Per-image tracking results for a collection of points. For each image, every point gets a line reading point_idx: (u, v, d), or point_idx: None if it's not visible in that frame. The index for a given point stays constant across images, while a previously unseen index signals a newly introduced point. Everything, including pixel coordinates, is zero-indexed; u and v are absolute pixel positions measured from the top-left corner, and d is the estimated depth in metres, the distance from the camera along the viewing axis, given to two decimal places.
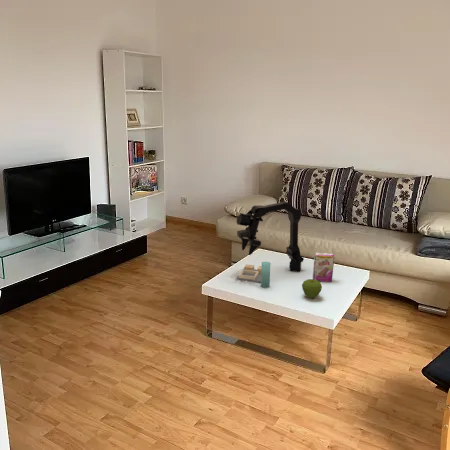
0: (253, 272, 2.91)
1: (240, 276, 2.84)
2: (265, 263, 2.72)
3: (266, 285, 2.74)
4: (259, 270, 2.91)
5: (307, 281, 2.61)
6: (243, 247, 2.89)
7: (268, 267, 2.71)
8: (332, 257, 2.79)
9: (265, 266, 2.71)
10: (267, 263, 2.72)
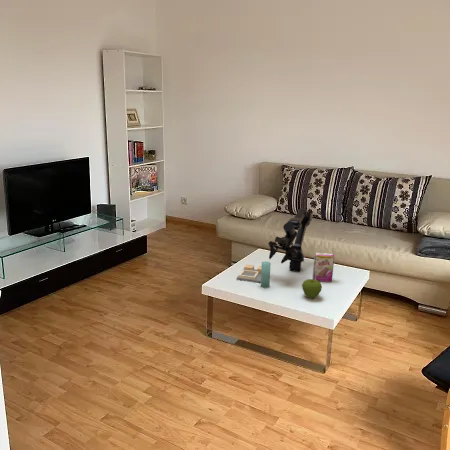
0: (253, 272, 2.91)
1: (240, 276, 2.84)
2: (265, 263, 2.72)
3: (266, 285, 2.74)
4: (259, 270, 2.91)
5: (307, 281, 2.61)
6: (271, 256, 2.82)
7: (268, 267, 2.71)
8: (332, 257, 2.79)
9: (265, 266, 2.71)
10: (267, 263, 2.72)
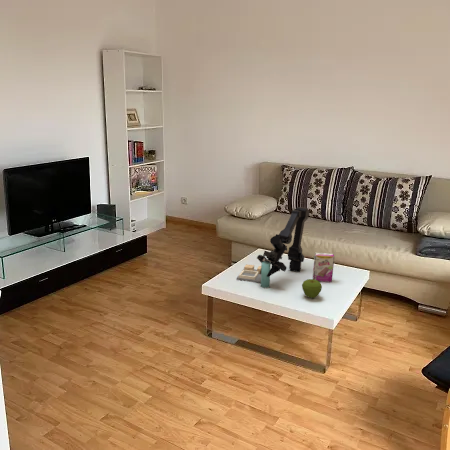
0: (253, 272, 2.91)
1: (240, 276, 2.84)
2: (265, 263, 2.72)
3: (266, 285, 2.74)
4: (259, 270, 2.91)
5: (307, 281, 2.61)
6: None
7: (268, 267, 2.71)
8: (332, 257, 2.79)
9: (265, 266, 2.71)
10: (267, 263, 2.72)
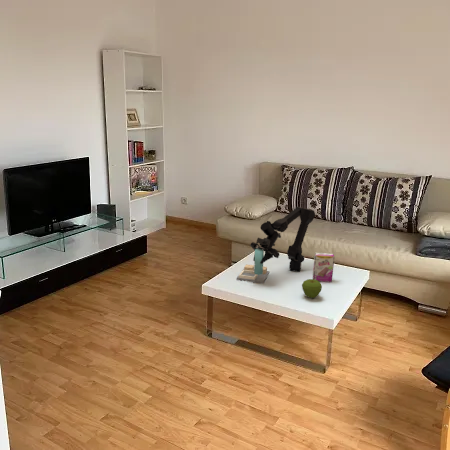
0: (253, 272, 2.91)
1: (240, 276, 2.84)
2: (258, 250, 2.75)
3: (259, 272, 2.77)
4: None
5: (307, 281, 2.61)
6: None
7: (261, 254, 2.75)
8: (332, 257, 2.79)
9: (258, 253, 2.74)
10: (260, 250, 2.76)
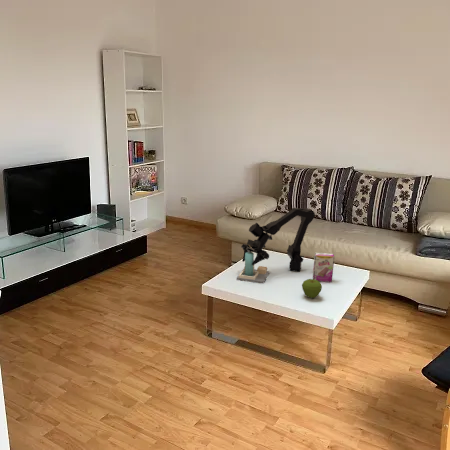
0: (253, 272, 2.91)
1: (240, 276, 2.84)
2: (248, 253, 2.83)
3: (250, 275, 2.85)
4: (259, 270, 2.91)
5: (307, 281, 2.61)
6: (244, 259, 2.88)
7: (251, 257, 2.83)
8: (332, 257, 2.79)
9: (248, 256, 2.82)
10: (250, 253, 2.84)
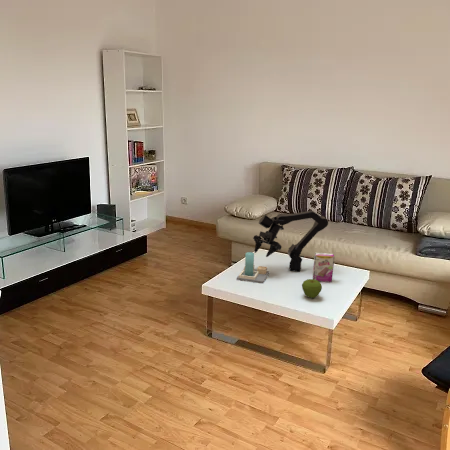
0: (253, 272, 2.91)
1: (240, 276, 2.84)
2: (249, 253, 2.84)
3: (250, 275, 2.85)
4: (259, 270, 2.91)
5: (307, 281, 2.61)
6: (256, 250, 2.94)
7: (251, 257, 2.83)
8: (332, 257, 2.79)
9: (249, 256, 2.82)
10: (251, 253, 2.84)
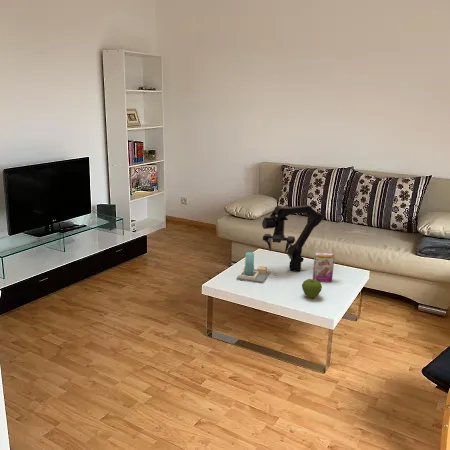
0: (253, 272, 2.91)
1: (240, 276, 2.84)
2: (249, 253, 2.84)
3: (250, 275, 2.85)
4: (259, 270, 2.91)
5: (307, 281, 2.61)
6: None
7: (251, 257, 2.83)
8: (332, 257, 2.79)
9: (249, 256, 2.82)
10: (251, 253, 2.84)
